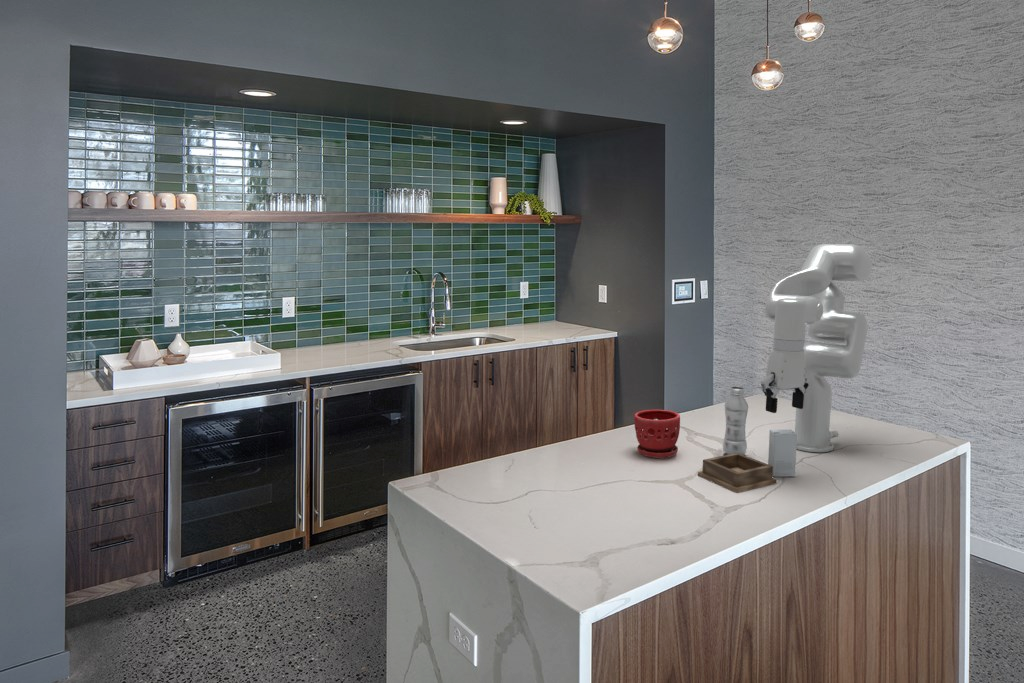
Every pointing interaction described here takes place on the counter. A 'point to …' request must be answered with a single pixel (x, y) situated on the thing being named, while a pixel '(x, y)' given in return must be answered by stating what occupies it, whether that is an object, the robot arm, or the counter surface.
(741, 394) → the plastic bottle
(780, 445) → the skincare box
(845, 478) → the counter surface
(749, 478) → the square wooden tray
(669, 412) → the plant pot
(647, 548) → the counter surface
